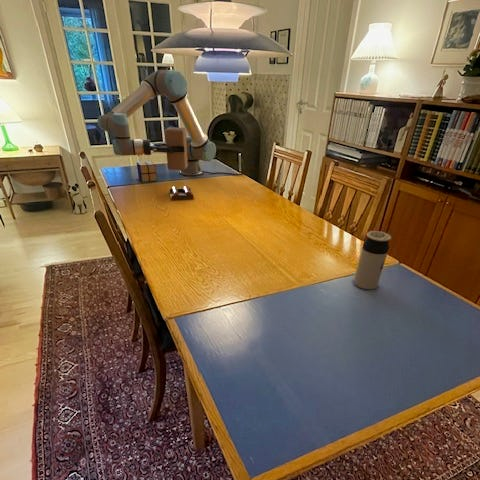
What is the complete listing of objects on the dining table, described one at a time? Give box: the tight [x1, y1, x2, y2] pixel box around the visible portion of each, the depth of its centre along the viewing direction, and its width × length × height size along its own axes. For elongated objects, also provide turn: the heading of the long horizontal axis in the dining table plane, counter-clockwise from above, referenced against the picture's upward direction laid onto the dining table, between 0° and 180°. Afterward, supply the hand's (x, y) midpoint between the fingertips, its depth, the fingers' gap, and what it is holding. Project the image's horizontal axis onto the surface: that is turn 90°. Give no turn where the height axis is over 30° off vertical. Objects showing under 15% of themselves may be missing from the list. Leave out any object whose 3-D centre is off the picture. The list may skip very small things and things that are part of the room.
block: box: [164, 126, 188, 171], centre depth 189 cm, size 10×10×20 cm
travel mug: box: [353, 230, 392, 290], centre depth 114 cm, size 8×8×18 cm
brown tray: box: [169, 185, 194, 201], centre depth 195 cm, size 12×14×4 cm
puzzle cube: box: [136, 160, 158, 183], centre depth 220 cm, size 10×10×10 cm
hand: (183, 147), depth 190 cm, fingers closed on block, 12 cm apart
